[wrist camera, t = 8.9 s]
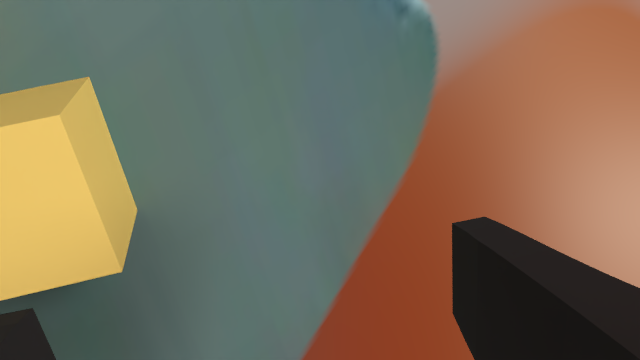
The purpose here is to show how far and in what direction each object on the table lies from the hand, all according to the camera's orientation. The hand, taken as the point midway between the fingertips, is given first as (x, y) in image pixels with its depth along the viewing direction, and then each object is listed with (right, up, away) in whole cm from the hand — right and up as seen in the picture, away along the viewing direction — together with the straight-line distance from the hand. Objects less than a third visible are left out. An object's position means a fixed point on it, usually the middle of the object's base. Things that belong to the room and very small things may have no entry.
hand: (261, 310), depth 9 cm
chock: (-8, +3, +9) cm, 12 cm away
